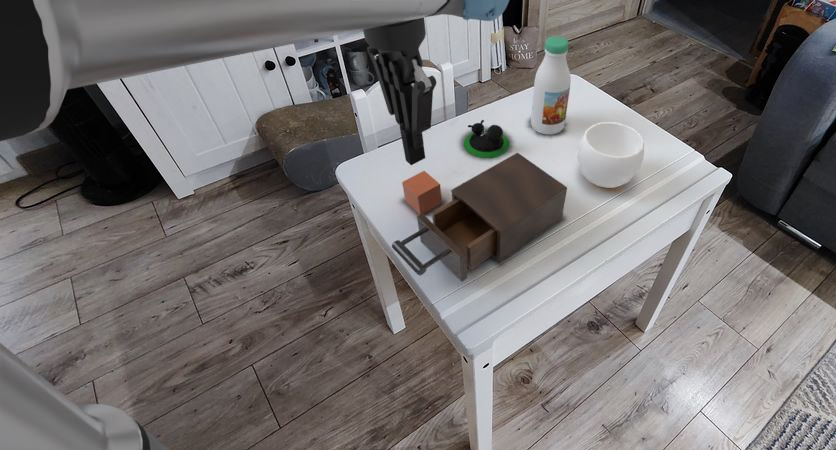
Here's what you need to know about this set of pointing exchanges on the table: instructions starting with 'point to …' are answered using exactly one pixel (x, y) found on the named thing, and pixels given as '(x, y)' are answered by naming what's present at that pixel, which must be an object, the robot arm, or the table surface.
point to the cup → (610, 154)
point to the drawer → (451, 240)
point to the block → (422, 192)
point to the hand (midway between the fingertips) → (415, 159)
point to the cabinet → (514, 201)
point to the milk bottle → (551, 88)
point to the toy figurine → (486, 141)
